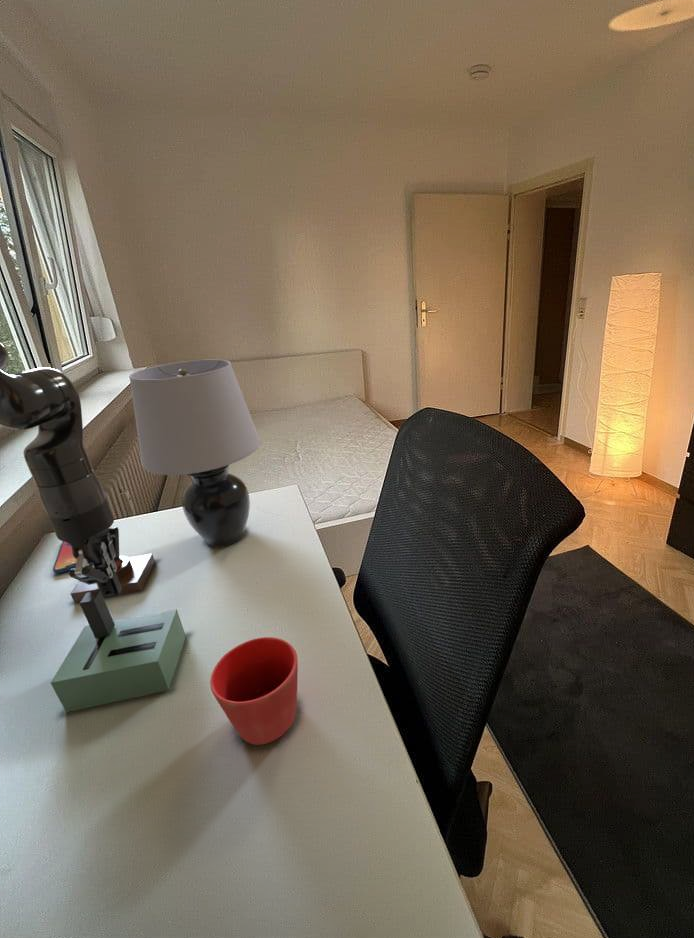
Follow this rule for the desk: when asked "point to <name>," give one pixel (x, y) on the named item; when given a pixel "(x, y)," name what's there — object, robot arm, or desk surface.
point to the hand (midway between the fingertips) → (113, 593)
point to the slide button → (97, 614)
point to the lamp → (197, 440)
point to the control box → (122, 576)
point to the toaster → (121, 661)
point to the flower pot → (258, 688)
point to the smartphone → (64, 559)
